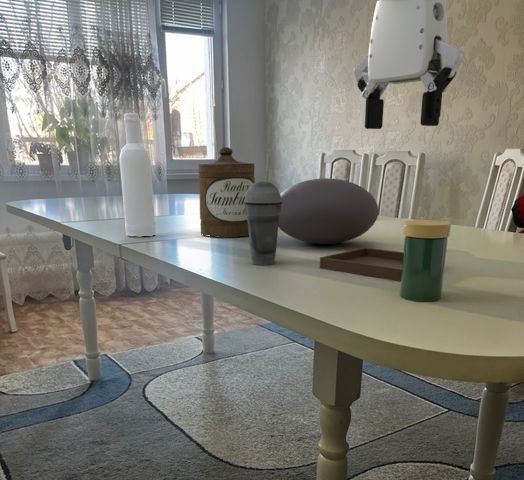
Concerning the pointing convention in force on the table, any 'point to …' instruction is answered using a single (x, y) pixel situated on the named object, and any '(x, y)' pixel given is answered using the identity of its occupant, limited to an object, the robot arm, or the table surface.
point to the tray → (366, 263)
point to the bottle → (136, 181)
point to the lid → (427, 228)
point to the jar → (423, 268)
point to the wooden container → (224, 195)
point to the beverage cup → (263, 220)
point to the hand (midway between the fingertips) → (400, 127)
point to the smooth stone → (326, 211)
